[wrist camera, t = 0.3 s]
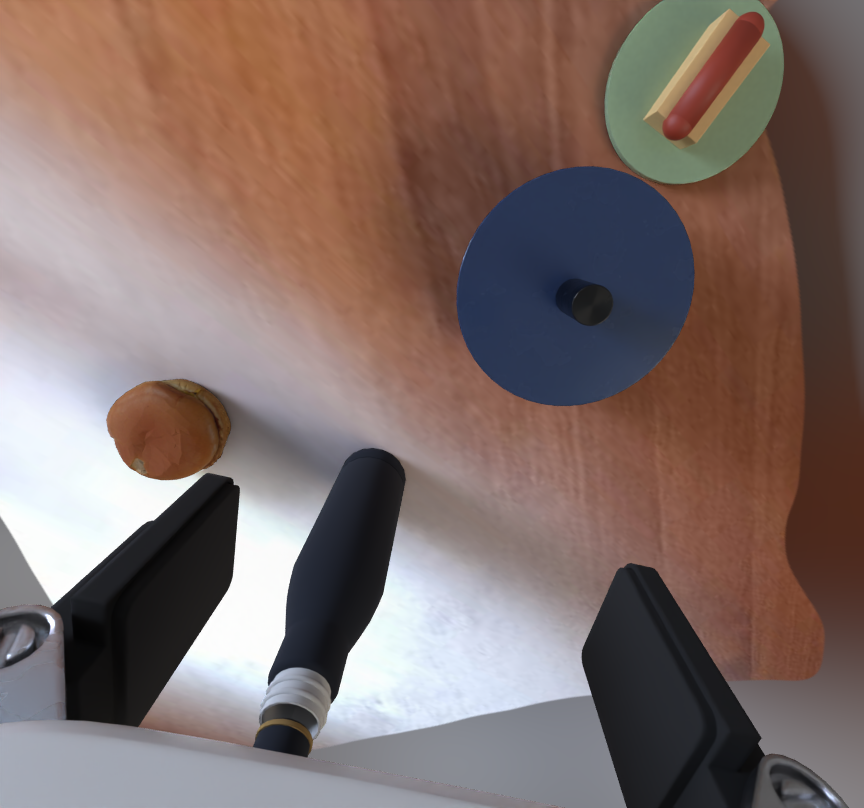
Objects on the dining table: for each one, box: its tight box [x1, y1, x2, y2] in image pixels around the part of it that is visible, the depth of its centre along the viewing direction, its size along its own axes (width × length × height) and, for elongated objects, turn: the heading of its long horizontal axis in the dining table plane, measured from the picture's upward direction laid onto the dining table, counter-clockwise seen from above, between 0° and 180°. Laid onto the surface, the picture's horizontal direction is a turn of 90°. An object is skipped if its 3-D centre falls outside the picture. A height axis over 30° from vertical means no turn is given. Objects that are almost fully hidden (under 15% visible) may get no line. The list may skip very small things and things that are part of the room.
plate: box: [605, 0, 784, 185], centre depth 32 cm, size 12×12×1 cm
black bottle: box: [253, 448, 406, 757], centre depth 30 cm, size 6×6×30 cm
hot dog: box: [643, 9, 770, 149], centre depth 30 cm, size 8×4×3 cm, turn 147°
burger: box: [106, 379, 231, 480], centre depth 41 cm, size 10×9×5 cm
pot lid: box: [457, 166, 695, 406], centre depth 29 cm, size 16×16×6 cm
